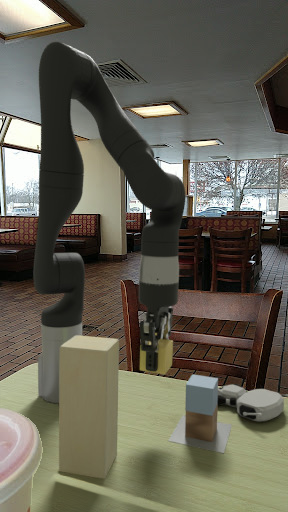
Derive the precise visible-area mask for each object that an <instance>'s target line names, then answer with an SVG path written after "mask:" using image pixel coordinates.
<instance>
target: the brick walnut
mask: <svg viewBox="0 0 288 512" xmlns="http://www.w3.org/2000/svg"><path fill="white" fill-rule="evenodd" d="M218 406H219V405H218V404H217V406H216V408H215V411H214V413H213V416H211V415H206V414H200V413H195V412H190V411H185V416H186V419H185V437H190V438H194V439H199V440H204V441H208V442H212V441H213V438H214V435H215V432H216V430H217V422H218V410H219V409H218Z"/></svg>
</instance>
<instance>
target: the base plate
mask: <svg viewBox="0 0 288 512" xmlns="http://www.w3.org/2000/svg"><path fill="white" fill-rule="evenodd" d="M185 419H186V414H182V416H181V417H180V419H179V421H178V422H177V425H176V426H175V428H174V430H173V432H172V433H171V435H170V437H169V438H168V440H167V442H170V443H176V444H179V445H184V446H188V447H194V448H198V449H202V450H207V451H210V452H215V453H220V454H224V453H225V450H226V447H227V443H228V440H229V437H230V433H231V430H232V427H233V425H232V424H231V423H224V422H220V421H217V430H216V432H215V435H214V438H213V441H212V442H208V441H204V440H199V439H194V438H190V437H185Z"/></svg>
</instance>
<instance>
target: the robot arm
mask: <svg viewBox="0 0 288 512" xmlns="http://www.w3.org/2000/svg"><path fill="white" fill-rule="evenodd" d="M38 92H39V93H38V94H39V104H40V105H39V107H40V108H39V109H40V155H39V156H40V159H39V171H38V172H39V173H38V174H39V175H38V218H37V219H38V221H37V232H36V241H35V242H36V243H35V249H34V250H35V251H34V261H33V273H32V274H33V275H32V276H33V286H34V288H35V290H36V292H37V293H38V294H39V295H43V296H44V295H57V294H58V295H59V294H63V295H62V298H61V299H60V300H58V301H57V302H55V303H54V304H51V305H50V306H48V307H46V308H44V309H43V310H42V312H41V314H40V316H41V317H40V327H41V328H40V329H41V354H39V355H38V357H37V374H38V375H37V378H38V379H37V380H38V381H37V383H38V384H37V385H38V387H37V388H38V389H37V390H38V391H37V393H38V394H37V396H38V397H41V398H42V399H43V400H45V401H46V402H48V403H52V404H53V403H55V404H59V352H60V346H61V345H63V344H64V343H65V342H67V341H68V340H70V339H71V338H73V337H74V336H76V335H80V336H83V314H84V307H85V306H84V299H85V298H84V297H85V284H86V283H85V282H86V280H85V279H86V269H85V267H86V266H85V262H84V260H83V258H82V256H81V255H80V253H78V252H55V249H56V248H55V246H56V244H57V239H58V237H59V234H60V232H61V230H62V228H63V227H64V225H65V224H66V222H67V221H68V220H69V218H71V215H72V214H73V213H74V212H75V209H77V207H78V205H79V204H80V202H81V199H82V197H83V191H84V176H85V175H84V173H85V166H84V165H85V164H84V160H83V155H82V153H81V150H80V147H79V144H78V142H77V139H76V136H75V133H74V130H73V126H72V119H71V113H72V112H71V111H72V110H71V107H72V106H71V105H72V104H71V103H72V100H74V101H75V100H76V101H78V103H80V104H81V105H82V106H83V107H84V108H85V109H86V110H87V111H88V112H89V113H90V114H91V116H92V117H93V118H94V120H95V122H96V125H97V130H98V133H99V137H100V140H101V141H102V144H103V146H104V147H105V149H106V151H107V152H108V153H109V155H110V156H111V158H112V159H113V160H114V162H115V163H116V164H117V165H118V167H119V168H120V169H121V170H122V172H123V174H124V177H125V180H126V182H127V183H128V185H129V187H130V189H131V191H132V193H133V195H134V197H135V198H136V199H137V201H138V202H139V203H140V204H142V205H143V206H144V207H145V208H147V209H149V210H150V216H149V217H150V218H149V221H148V223H146V225H144V226H143V228H142V231H141V240H140V241H141V243H140V254H141V255H140V262H139V268H138V270H139V271H138V273H139V275H138V303H140V304H141V305H143V306H146V308H147V309H146V313H145V314H144V320H140V321H139V336H140V337H139V338H140V345H141V351H146V370H147V371H153V372H156V371H157V369H158V351H159V343H160V340H162V339H166V340H170V339H169V337H170V336H171V335H172V324H173V316H174V315H173V313H174V306H176V305H177V304H178V302H179V284H180V283H179V280H180V276H179V275H180V264H179V247H180V246H179V244H180V241H179V239H180V238H179V237H180V236H179V234H180V228H181V225H182V222H183V216H184V211H185V207H186V206H185V205H186V189H185V185H184V182H183V181H182V179H181V178H180V177H179V176H177V175H175V174H173V173H169V172H166V171H164V169H163V168H162V167H161V166H160V165H159V164H158V161H156V159H155V153H154V150H153V148H152V147H151V145H150V144H149V142H148V141H147V139H145V137H144V136H143V135H142V134H141V132H140V131H139V129H138V128H137V127H136V126H135V125H134V124H133V122H132V120H130V118H129V117H128V115H127V114H126V113H125V111H124V109H123V108H122V107H121V105H120V104H119V102H118V101H117V99H116V97H115V96H114V94H113V91H112V90H111V88H110V87H109V85H108V83H107V81H106V80H105V77H104V75H103V74H102V72H101V70H100V68H99V66H98V64H97V63H96V62H95V60H94V59H93V58H92V57H91V56H90V55H88V54H87V53H85V52H83V51H81V50H79V49H77V48H75V47H73V46H71V45H68V44H67V43H64V42H60V41H52V42H50V43H48V44H47V45H46V47H45V48H44V49H43V51H42V54H41V56H40V59H39V66H38ZM155 340H156V341H155ZM149 342H151V345H149ZM147 371H146V372H147ZM153 372H152V373H153Z"/></svg>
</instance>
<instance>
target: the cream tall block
mask: <svg viewBox="0 0 288 512" xmlns="http://www.w3.org/2000/svg"><path fill="white" fill-rule="evenodd" d="M119 350H120V340H119V339H118V338H112V337H111V338H109V337H99V336H88V335H82V336H80V335H76V336H74V337H73V338H71V339H70V340H68V341H67V342H65V343H64V344H63V345H61V346H60V352H59V403H58V404H59V406H58V408H59V409H58V471H59V472H63V473H68V474H74V475H78V476H79V475H80V476H86V477H92V478H96V479H106V477H107V475H108V474H109V472H110V470H111V467H112V465H113V463H114V461H115V459H116V457H117V455H118V429H119V428H118V426H119V425H118V423H119V418H118V417H119V369H120V368H119V365H120V364H119V363H120V361H119V360H120V359H119V358H120V351H119ZM59 475H61V476H65V477H67V475H66V474H61V473H59Z"/></svg>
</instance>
